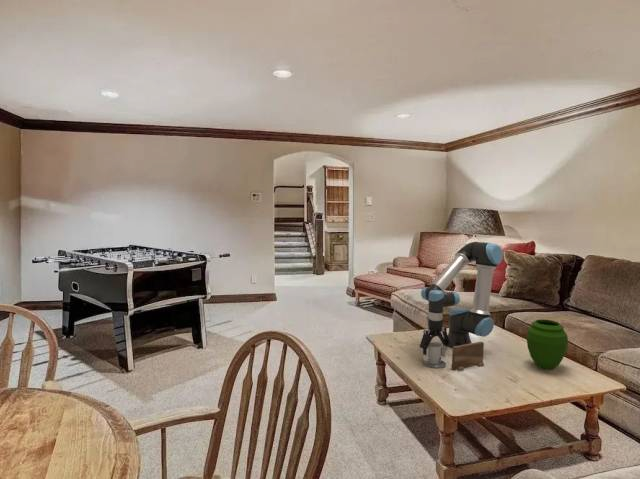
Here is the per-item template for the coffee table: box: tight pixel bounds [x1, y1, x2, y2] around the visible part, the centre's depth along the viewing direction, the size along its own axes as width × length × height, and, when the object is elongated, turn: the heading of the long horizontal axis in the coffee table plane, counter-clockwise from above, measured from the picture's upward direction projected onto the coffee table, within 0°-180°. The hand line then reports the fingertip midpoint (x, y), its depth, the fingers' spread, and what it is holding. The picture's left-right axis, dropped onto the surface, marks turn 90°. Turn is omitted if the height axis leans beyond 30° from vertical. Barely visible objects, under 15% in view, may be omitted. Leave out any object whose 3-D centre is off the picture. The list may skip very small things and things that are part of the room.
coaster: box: [422, 358, 447, 370], centre depth 220 cm, size 12×12×1 cm
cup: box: [427, 341, 443, 364], centre depth 220 cm, size 8×8×10 cm
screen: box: [450, 341, 485, 372], centre depth 216 cm, size 6×20×12 cm, turn 114°
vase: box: [525, 319, 569, 371], centre depth 214 cm, size 20×20×24 cm
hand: (434, 358), depth 220 cm, fingers open, 11 cm apart
